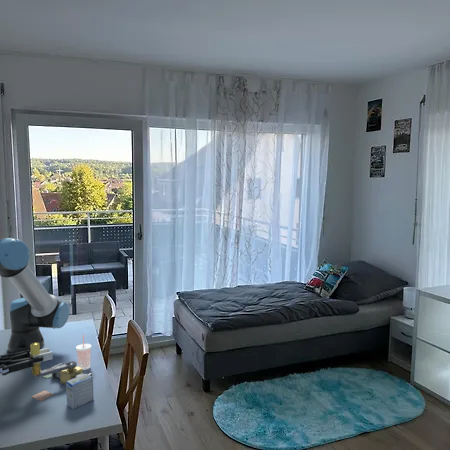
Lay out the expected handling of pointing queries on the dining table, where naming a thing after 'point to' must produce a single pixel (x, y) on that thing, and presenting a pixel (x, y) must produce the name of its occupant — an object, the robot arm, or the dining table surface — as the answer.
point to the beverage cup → (84, 355)
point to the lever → (37, 368)
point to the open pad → (47, 376)
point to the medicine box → (79, 390)
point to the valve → (68, 374)
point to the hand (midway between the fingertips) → (50, 353)
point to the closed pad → (42, 395)
